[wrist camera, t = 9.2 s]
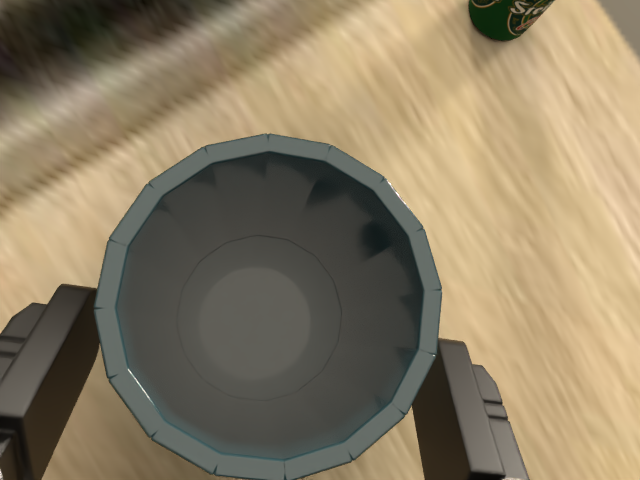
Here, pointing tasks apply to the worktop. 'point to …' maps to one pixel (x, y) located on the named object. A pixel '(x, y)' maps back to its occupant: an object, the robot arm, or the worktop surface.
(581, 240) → the worktop surface
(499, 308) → the worktop surface
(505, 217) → the worktop surface
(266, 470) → the cup
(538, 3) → the beer can
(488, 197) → the worktop surface
